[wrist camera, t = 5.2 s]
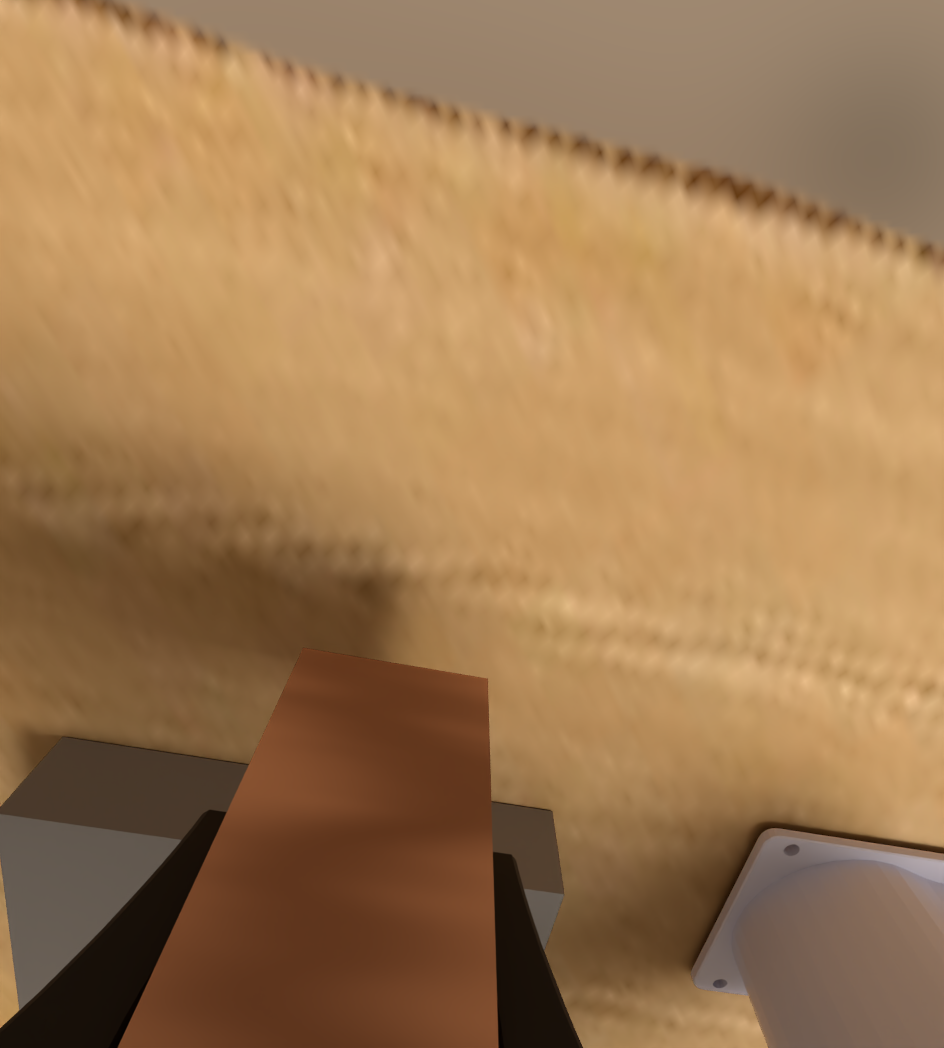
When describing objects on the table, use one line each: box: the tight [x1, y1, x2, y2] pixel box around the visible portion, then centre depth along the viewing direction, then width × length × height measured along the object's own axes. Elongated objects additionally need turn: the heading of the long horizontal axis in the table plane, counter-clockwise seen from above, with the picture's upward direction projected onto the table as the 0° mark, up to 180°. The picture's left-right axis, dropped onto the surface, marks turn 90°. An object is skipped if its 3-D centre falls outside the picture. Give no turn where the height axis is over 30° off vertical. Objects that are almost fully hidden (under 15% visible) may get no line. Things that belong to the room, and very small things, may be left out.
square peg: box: [118, 648, 499, 1048], centre depth 10 cm, size 4×4×8 cm
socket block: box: [0, 737, 564, 1010], centre depth 22 cm, size 16×16×3 cm
